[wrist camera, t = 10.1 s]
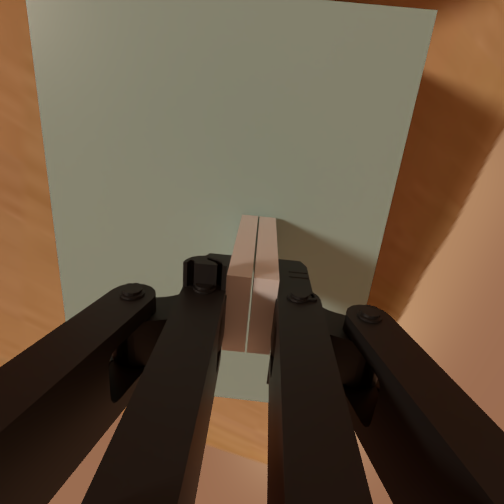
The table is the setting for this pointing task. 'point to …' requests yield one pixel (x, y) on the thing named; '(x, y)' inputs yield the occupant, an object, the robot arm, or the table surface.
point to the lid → (223, 140)
